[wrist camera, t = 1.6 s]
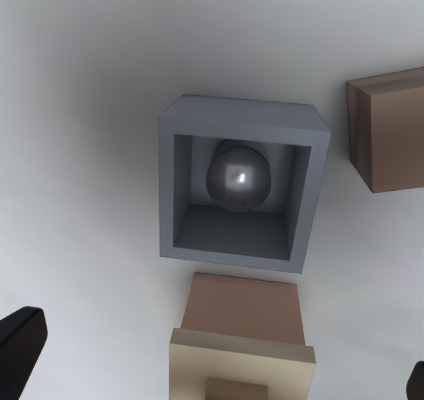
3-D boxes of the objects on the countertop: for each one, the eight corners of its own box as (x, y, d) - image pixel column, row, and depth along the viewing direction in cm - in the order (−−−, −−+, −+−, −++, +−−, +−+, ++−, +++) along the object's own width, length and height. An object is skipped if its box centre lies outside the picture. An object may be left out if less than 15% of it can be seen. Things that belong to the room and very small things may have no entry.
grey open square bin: (291, 219, 20) (301, 273, 16) (181, 207, 21) (159, 256, 16) (312, 105, 17) (331, 131, 13) (183, 94, 18) (158, 116, 13)
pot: (281, 356, 25) (286, 428, 20) (192, 343, 25) (177, 411, 21) (296, 285, 22) (305, 350, 18) (195, 272, 23) (179, 332, 18)
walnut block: (435, 148, 17) (480, 179, 14) (350, 160, 18) (372, 193, 15) (440, 63, 16) (493, 74, 12) (346, 81, 17) (370, 95, 13)
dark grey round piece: (266, 193, 19) (266, 215, 17) (210, 187, 19) (204, 208, 17) (273, 139, 18) (275, 155, 15) (213, 133, 18) (207, 148, 16)
